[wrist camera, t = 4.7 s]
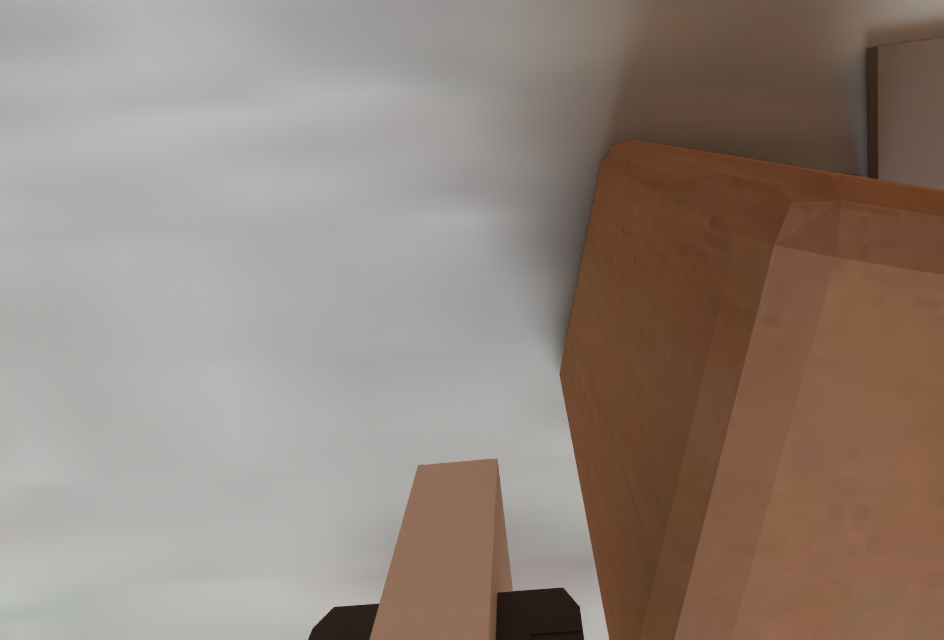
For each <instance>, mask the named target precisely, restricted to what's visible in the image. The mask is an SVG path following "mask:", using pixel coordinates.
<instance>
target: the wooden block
mask: <svg viewBox="0 0 944 640" xmlns="http://www.w3.org/2000/svg"><path fill="white" fill-rule="evenodd" d="M560 379H561V384H562V390H563V395H564V400H565V406H566V411H567V416H568V422H569V427H570V432H571V438H572V443H573V448H574V453H575V459H576V464H577V469H578V475H579V480H580V485H581V491H582V496H583V501H584V507H585V512H586V517H587V523H588V528H589V533H590V539H591V544H592V549H593V555H594V560H595V565H596V571H597V576H598V581H599V586H600V592H601V597H602V602H603V608H604V613H605V618H606V624H607V629H608V634H609V640H944V190H938V189H932V188H926V187H920V186H915V185H909V184H903V183H897V182H891V181H885V180H879V179H873V178H867V177H861V176H855V175H849V174H843V173H836V172H830V171H824V170H818V169H812V168H806V167H799V166H793V165H787V164H781V163H775V162H769V161H762V160H756V159H750V158H744V157H738V156H732V155H726V154H719V153H713V152H707V151H701V150H695V149H689V148H682V147H676V146H670V145H664V144H658V143H652V142H645V141H639V140H630V141H626V142H622V143H618V144H614V145H612V146H611V148H610V149H609V151H608V152H607V154H606V156H605V157H604V159H603V160H602V162H601V163H600V168H599V173H598V178H597V184H596V189H595V194H594V199H593V204H592V209H591V214H590V220H589V225H588V230H587V235H586V240H585V245H584V251H583V256H582V261H581V266H580V271H579V276H578V281H577V287H576V292H575V297H574V302H573V307H572V312H571V318H570V323H569V328H568V333H567V338H566V343H565V349H564V354H563V359H562V364H561V369H560Z"/></svg>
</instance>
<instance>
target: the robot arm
mask: <svg viewBox="0 0 944 640" xmlns="http://www.w3.org/2000/svg"><path fill="white" fill-rule="evenodd" d="M308 640H584V636H583V628H582V621H581V613H580V607H579V606H578V604H577V603H576V602H575V601H574V600H573V599H572V597H571V596H570V595H569V594H568V593H567V592H566V590H565V589H564V588H552V589H538V590H525V591H512V580H511V571H510V563H509V554H508V546H507V537H506V528H505V520H504V511H503V503H502V494H501V486H500V477H499V468H498V460H497V459H485V460H474V461H462V462H451V463H439V464H428V465H418V467H417V471H416V475H415V478H414V482H413V485H412V489H411V493H410V496H409V500H408V503H407V507H406V510H405V514H404V518H403V521H402V525H401V528H400V532H399V536H398V539H397V543H396V546H395V550H394V554H393V557H392V561H391V564H390V568H389V572H388V575H387V579H386V582H385V586H384V589H383V593H382V597H381V600H380V604H369V605H356V606H343V607H334V608H333V609H332V610H331V611H330V612H329V613H328V614H327V615H326V616H325V617H324V618H323V619H322V620H321V621H320V622H319V623H318V624H317V625H316V626H315V627H314V628H313V629H312V631H311V634H310V636H309V639H308Z"/></svg>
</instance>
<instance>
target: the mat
mask: <svg viewBox="0 0 944 640" xmlns="http://www.w3.org/2000/svg"><path fill="white" fill-rule="evenodd" d="M868 172H869V178H873V179H879V180H885V181H891V182H897V183H903V184H909V185H915V186H920V187H926V188H932V189H938V190H944V38H937V39H930V40H922V41H914V42H907V43H899V44H891V45H884V46H876V47H871V48H868Z"/></svg>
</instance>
